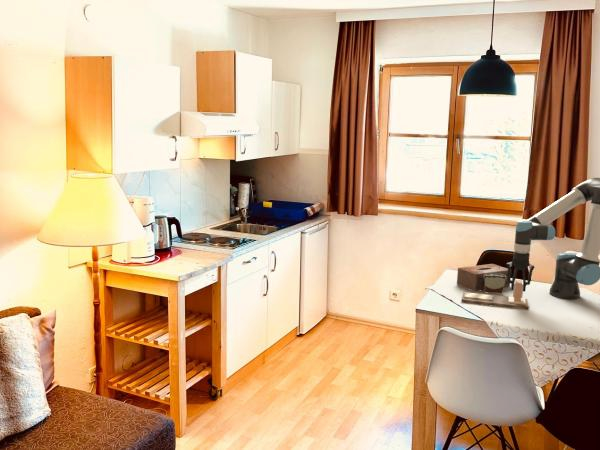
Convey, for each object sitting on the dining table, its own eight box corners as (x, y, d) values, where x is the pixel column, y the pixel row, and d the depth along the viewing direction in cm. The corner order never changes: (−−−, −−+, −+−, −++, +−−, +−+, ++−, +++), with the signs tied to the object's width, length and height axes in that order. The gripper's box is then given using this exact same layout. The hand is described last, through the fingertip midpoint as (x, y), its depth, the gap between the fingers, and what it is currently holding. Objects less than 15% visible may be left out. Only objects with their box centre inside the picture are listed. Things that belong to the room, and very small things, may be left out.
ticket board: (526, 301, 309) (527, 297, 309) (528, 309, 296) (528, 305, 296) (462, 294, 319) (463, 290, 319) (461, 302, 306) (461, 297, 305)
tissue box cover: (474, 292, 326) (476, 274, 324) (456, 285, 338) (457, 267, 337) (509, 287, 337) (511, 269, 335) (491, 280, 350) (492, 263, 348)
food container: (502, 290, 329) (504, 272, 327) (505, 293, 323) (507, 275, 321) (479, 289, 330) (481, 271, 328) (482, 292, 324) (483, 274, 322)
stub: (524, 300, 307) (526, 280, 305) (525, 304, 299) (527, 284, 297) (508, 298, 309) (510, 278, 307) (508, 302, 302) (510, 282, 300)
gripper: (538, 251, 301) (533, 296, 305) (504, 248, 305) (500, 293, 310) (539, 254, 294) (534, 300, 298) (504, 251, 298) (500, 297, 303)
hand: (517, 296), depth 304 cm, fingers closed on stub, 3 cm apart
